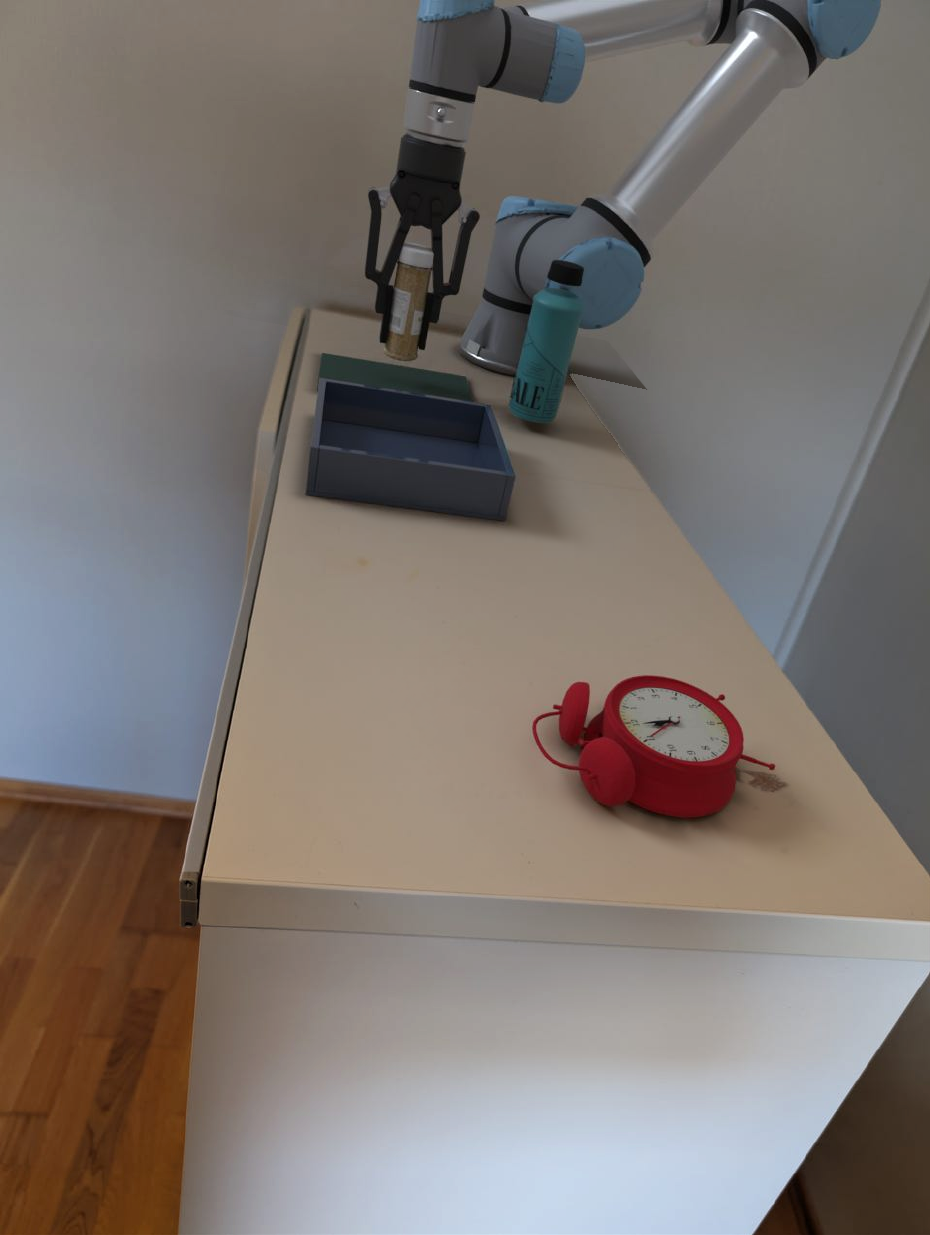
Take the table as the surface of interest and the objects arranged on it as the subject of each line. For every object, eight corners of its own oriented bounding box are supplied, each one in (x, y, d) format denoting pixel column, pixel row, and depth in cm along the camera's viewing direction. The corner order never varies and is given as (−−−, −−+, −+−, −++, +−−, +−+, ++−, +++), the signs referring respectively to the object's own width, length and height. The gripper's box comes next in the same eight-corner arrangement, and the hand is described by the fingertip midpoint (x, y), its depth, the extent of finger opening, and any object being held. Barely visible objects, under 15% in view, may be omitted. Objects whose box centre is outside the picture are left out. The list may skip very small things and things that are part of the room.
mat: (465, 380, 121) (465, 376, 120) (475, 416, 109) (476, 412, 109) (321, 356, 117) (322, 352, 117) (316, 391, 105) (317, 387, 105)
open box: (482, 444, 102) (491, 404, 99) (505, 521, 85) (516, 476, 83) (315, 419, 98) (319, 377, 95) (305, 494, 82) (310, 446, 79)
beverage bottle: (553, 421, 113) (595, 263, 103) (553, 439, 108) (597, 273, 97) (505, 410, 113) (542, 251, 103) (502, 427, 108) (540, 260, 97)
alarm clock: (798, 776, 54) (602, 739, 48) (743, 843, 57) (552, 816, 51) (721, 674, 62) (546, 631, 56) (676, 738, 65) (505, 703, 59)
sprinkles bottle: (422, 363, 110) (442, 253, 103) (389, 361, 108) (407, 249, 101) (409, 351, 114) (428, 244, 107) (377, 348, 112) (394, 239, 104)
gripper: (358, 124, 93) (333, 340, 105) (513, 159, 96) (470, 363, 109) (358, 119, 99) (334, 323, 112) (503, 152, 102) (465, 346, 115)
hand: (401, 343), depth 110 cm, fingers closed on sprinkles bottle, 4 cm apart
